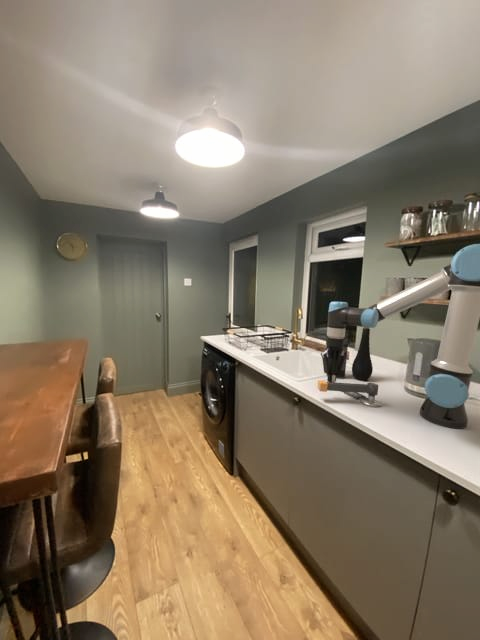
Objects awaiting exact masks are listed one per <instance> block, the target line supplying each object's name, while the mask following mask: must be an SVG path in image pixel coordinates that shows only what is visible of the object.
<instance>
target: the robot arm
mask: <svg viewBox="0 0 480 640" xmlns="http://www.w3.org/2000/svg"><path fill="white" fill-rule="evenodd" d="M450 290H451V294H450V299H449V302H448V303H449V304H448V308H447V313H446V317H445V321H444V326H443V330H442V335H441V339H440V344H439V348H438V353H437V358H436V359H434V360H432V361H431V362H430V365H429V370H428V374H427V379H426V381H425V383H424V385H423V386H424V393H425V394H426V398H425V399H424V402H422V404H421V406H420V409H419V416H421V417H422V418H423V419H424V420H427V421H429V422H431V423H433V424H436V425H439V426H442V427H446V428H451V429H466V428H467V427H468V424H469V423H468V422H469V421H468V420H469V418H468V415H467V411H466V406H465V403H466V402H467V400H468V398H469V397H470V393H469V389H470V385H471V381H472V377H473V373H474V371H473V369H471V368H470V366H469V365H470V364H469V363H470V359H471V355H472V350H473V347H474V342H475V338H476V334H477V330H478V326H479V322H480V243H474V244H470V245H467V246H465V247H463V248H461V249H459V251H457V252H456V253H455V254H454V255H453V257H452V258H451V261H450V263H449V264H448V265H446V266H444V267H442V268H441V270H440V271H439V272H438V273H436V274H433V275H432V276H429V277H428V278H426V279H424V280H421V281H420V282H417V283H415V284H413V285H411V286H410V287H407V288H405V289H404V290H401V291H399V292H397V293H396V294H393V295H391V296H389V297H387V298H385V299H383V300H381V301H379V302H376V303H374V304H373V305H370V306H369V307H364V308H363V307H362V308H361V307H349V303H348V302H346V301H331V302H330V303H329V306H328V312H327V313H328V315H327V328H326V336H327V337H326V339H325V340H326V341H325V345H326V348H325V351H323V352H320V355H321V358H322V359H321V360H322V366H323V372H324V374H326V375H327V374H328V376H327V379H326V380H327V381H326V382H335V383H337V382H336V381H337V378H336V375H337V376H338V375H339V374H338V373H341V370H342V366H343V363H344V359H345V357H346V355H347V356H348V352H347V353H346V352H344V351H343V346H344V342H345V337H346V328H347V327H346V326H353V327H362V328H364V327H365V328H369V329H370V328H371V329H375V328H376V327H377V325H378V323H379V322H382V321H384V320H385V319H387V318H390V317H392V316H394V315H397V314H399V313H401V312H403V311H405V310H407V309H410V308H412V307H415V306H417V305H419V304H421V303H423V302H426V301H428V300H430V299H432V298H435V297H437V296H439V295H441V294H444V293H446V292H448V291H450Z"/></svg>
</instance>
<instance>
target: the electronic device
mask: <svg viewBox="0 0 480 640" xmlns="http://www.w3.org/2000/svg"><path fill="white" fill-rule="evenodd" d="M348 347H349V343H347V342H346V341H344V346H343V351H344V352H346V353H347V355H346V357H345V359H344V363H343V366H342V370H341V373H338V374H339V375H338V376H337V375H336V379H340V380H341V379H343V380H344V379H345V377H346V368H347V357H348ZM326 376H327V377H328V374H326Z"/></svg>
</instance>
